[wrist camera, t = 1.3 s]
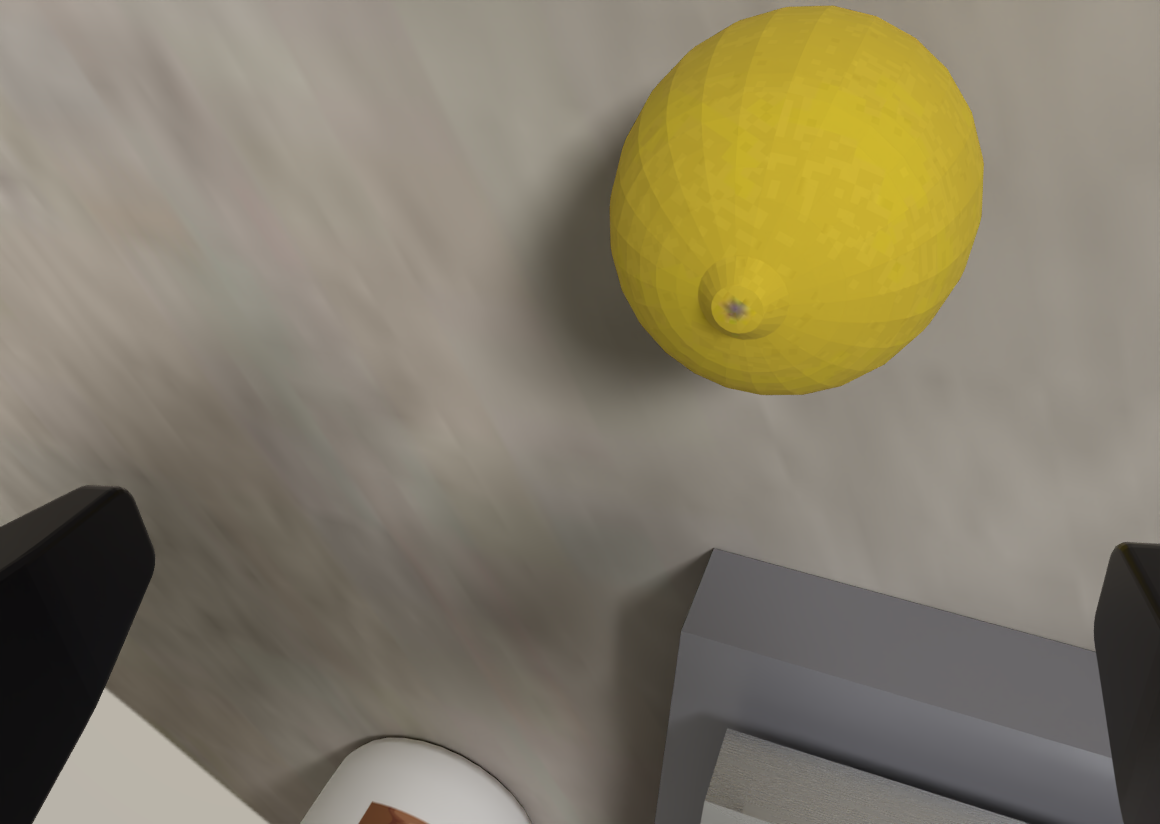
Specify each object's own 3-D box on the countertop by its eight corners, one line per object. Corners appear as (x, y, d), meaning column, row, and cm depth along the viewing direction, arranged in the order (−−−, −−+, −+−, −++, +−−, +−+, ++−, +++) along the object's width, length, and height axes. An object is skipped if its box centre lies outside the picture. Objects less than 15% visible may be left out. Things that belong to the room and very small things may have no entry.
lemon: (1037, -10, 17) (1032, 148, 11) (942, 286, 21) (897, 537, 14) (714, -62, 19) (546, 52, 12) (672, 223, 22) (522, 428, 16)
